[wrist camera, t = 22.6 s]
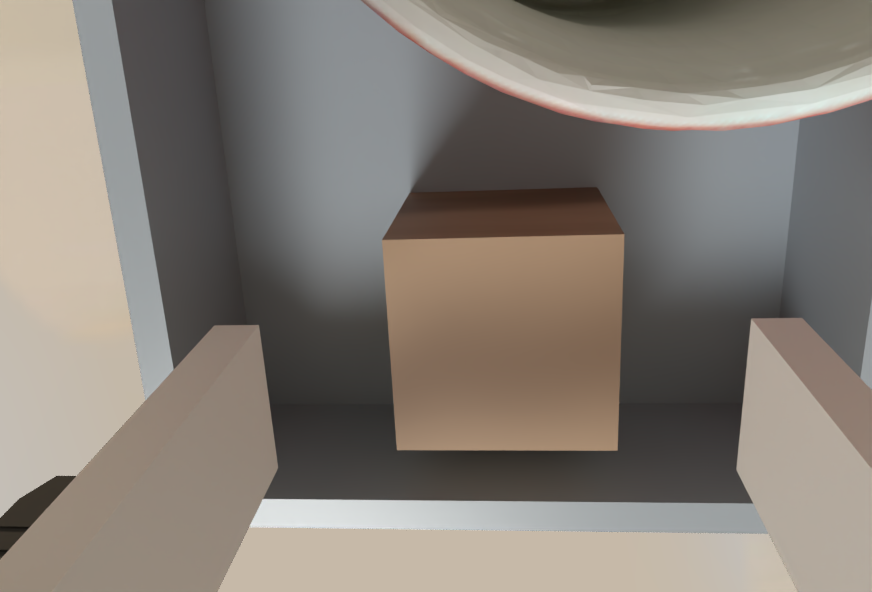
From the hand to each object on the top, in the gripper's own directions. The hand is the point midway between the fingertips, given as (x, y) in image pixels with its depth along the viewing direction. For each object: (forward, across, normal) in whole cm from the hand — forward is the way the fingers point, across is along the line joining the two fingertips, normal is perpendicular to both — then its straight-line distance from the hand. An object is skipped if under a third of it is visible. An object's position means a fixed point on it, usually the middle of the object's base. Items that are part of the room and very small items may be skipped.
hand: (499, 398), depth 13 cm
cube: (+9, 0, -1) cm, 9 cm away
